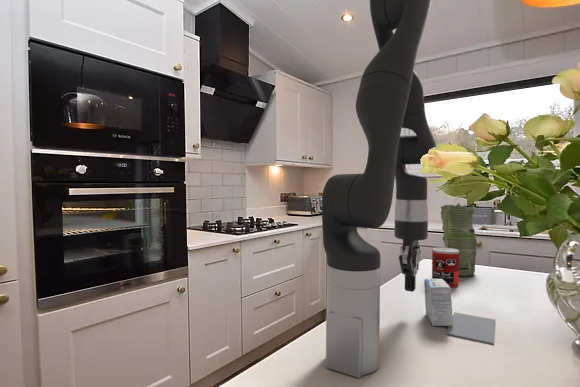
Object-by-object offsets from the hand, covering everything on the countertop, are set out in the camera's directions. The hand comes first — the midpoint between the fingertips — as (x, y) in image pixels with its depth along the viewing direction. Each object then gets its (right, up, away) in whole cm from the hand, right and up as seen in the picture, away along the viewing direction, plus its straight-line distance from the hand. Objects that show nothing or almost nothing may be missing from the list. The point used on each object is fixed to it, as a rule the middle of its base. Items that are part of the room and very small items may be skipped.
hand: (410, 290), depth 83 cm
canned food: (+20, -6, +26) cm, 34 cm away
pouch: (+31, -5, +40) cm, 51 cm away
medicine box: (+5, -6, -3) cm, 9 cm away
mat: (+11, -6, -7) cm, 15 cm away
